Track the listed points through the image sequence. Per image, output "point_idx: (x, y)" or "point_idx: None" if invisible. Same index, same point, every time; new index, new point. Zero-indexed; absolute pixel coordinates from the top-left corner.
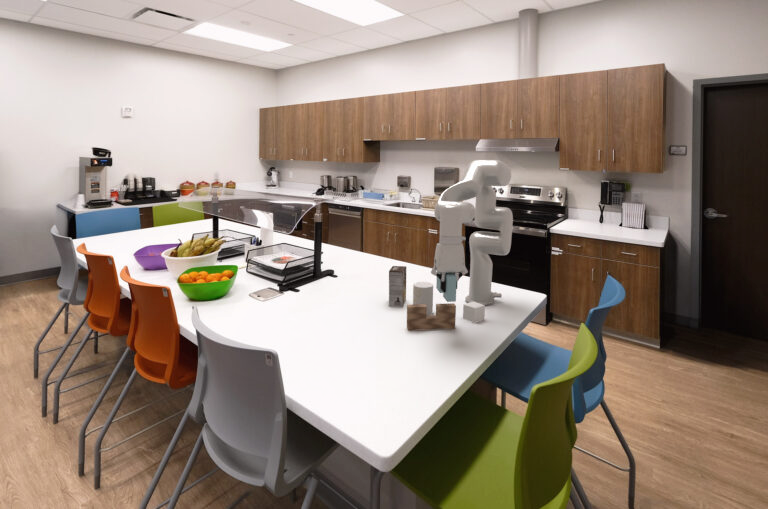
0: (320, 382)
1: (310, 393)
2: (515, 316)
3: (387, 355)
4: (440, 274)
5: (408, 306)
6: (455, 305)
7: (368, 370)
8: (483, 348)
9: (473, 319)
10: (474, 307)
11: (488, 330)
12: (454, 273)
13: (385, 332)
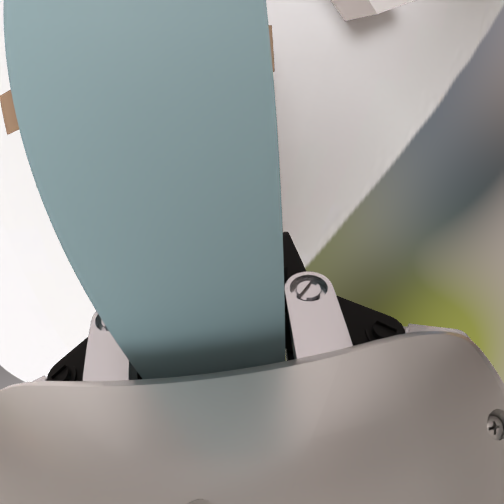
0: (14, 356)
1: (22, 373)
2: (472, 21)
3: (52, 287)
4: (97, 373)
5: (6, 121)
6: (273, 62)
7: (49, 336)
8: (307, 236)
9: (348, 16)
10: (378, 3)
11: (373, 100)
12: (309, 354)
13: (2, 148)
